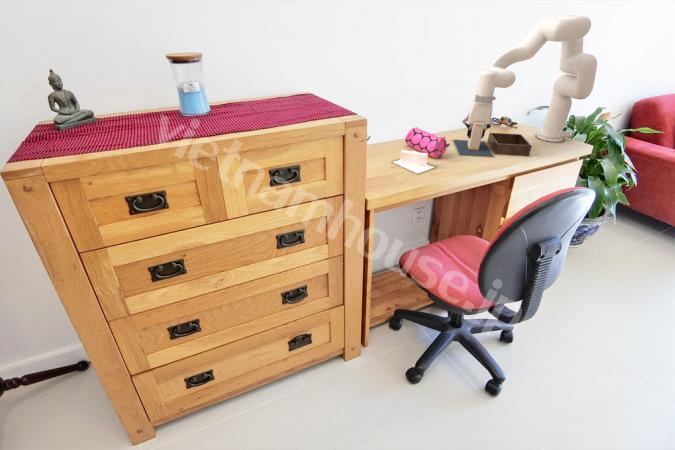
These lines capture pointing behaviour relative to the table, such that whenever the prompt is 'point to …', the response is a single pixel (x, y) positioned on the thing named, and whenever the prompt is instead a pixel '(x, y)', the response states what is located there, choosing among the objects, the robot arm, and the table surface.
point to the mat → (465, 150)
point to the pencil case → (426, 142)
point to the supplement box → (475, 136)
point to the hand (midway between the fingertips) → (475, 137)
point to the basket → (509, 144)
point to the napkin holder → (414, 161)
